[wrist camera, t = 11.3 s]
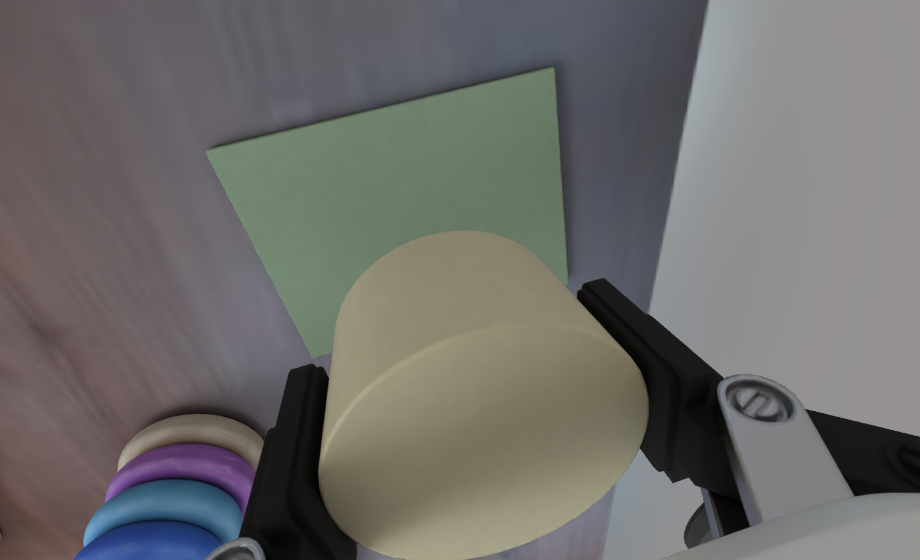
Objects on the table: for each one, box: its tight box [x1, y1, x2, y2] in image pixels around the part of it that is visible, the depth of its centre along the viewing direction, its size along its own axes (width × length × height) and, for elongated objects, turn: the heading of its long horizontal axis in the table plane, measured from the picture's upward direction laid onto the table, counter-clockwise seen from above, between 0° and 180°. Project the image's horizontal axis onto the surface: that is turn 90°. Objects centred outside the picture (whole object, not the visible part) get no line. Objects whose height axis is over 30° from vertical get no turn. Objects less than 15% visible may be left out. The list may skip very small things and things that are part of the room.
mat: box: [205, 67, 568, 358], centre depth 20 cm, size 16×12×1 cm
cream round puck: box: [318, 230, 649, 560], centre depth 10 cm, size 7×7×4 cm
